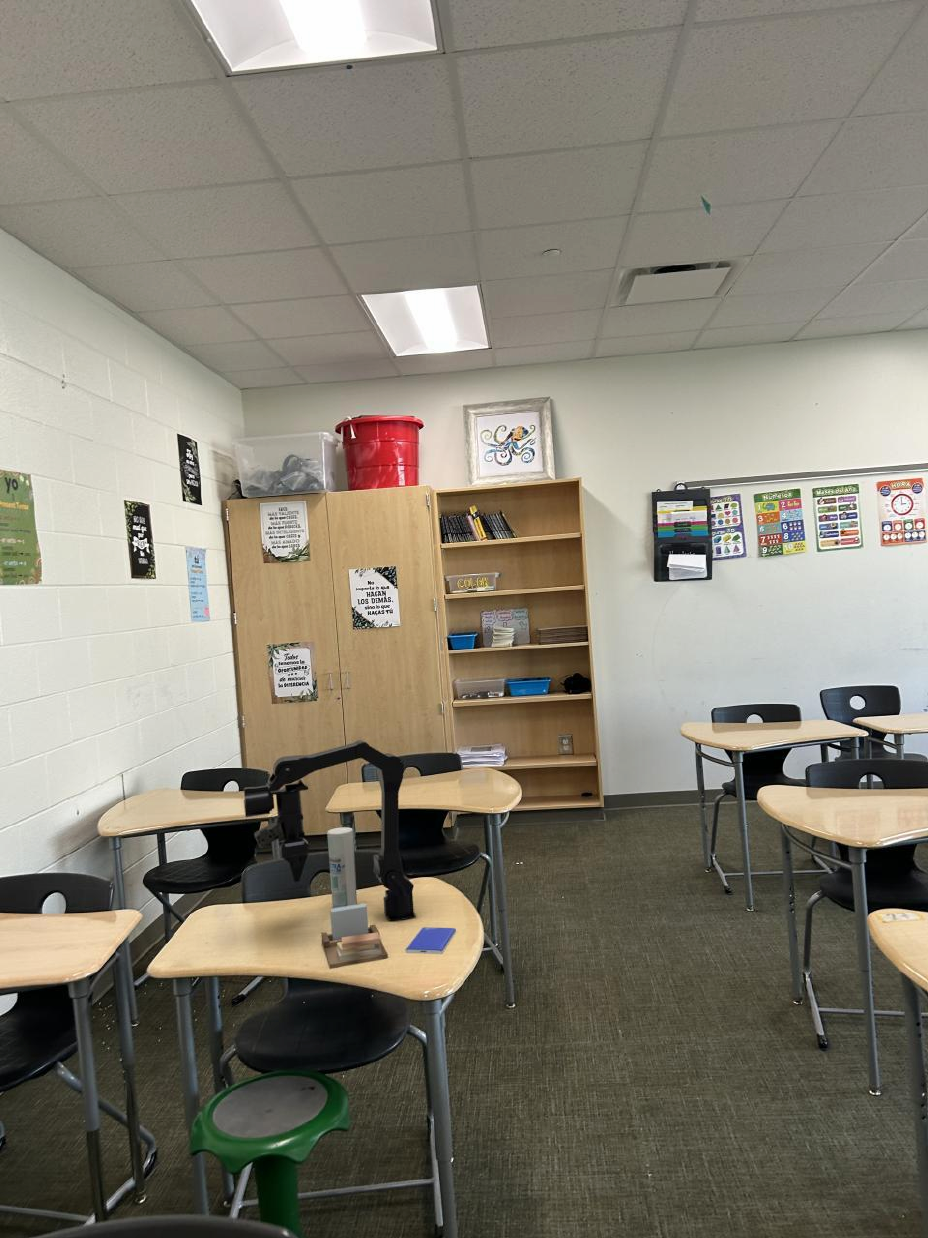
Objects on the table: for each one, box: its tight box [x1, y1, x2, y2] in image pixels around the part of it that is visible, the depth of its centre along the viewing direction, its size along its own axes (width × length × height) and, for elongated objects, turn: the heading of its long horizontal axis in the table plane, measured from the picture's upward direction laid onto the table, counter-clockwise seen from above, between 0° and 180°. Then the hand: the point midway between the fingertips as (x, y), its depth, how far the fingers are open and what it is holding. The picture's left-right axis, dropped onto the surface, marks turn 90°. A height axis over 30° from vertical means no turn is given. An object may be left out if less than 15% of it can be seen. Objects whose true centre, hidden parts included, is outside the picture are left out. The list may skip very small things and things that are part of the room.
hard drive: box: [405, 926, 457, 955], centre depth 181 cm, size 2×8×12 cm
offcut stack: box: [337, 932, 382, 961], centre depth 176 cm, size 9×5×3 cm, turn 106°
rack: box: [321, 924, 389, 969], centre depth 180 cm, size 12×15×2 cm
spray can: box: [326, 826, 358, 909], centre depth 208 cm, size 6×6×20 cm
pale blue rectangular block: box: [329, 902, 369, 941], centre depth 184 cm, size 8×2×8 cm, turn 106°
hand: (295, 876), depth 192 cm, fingers open, 9 cm apart
